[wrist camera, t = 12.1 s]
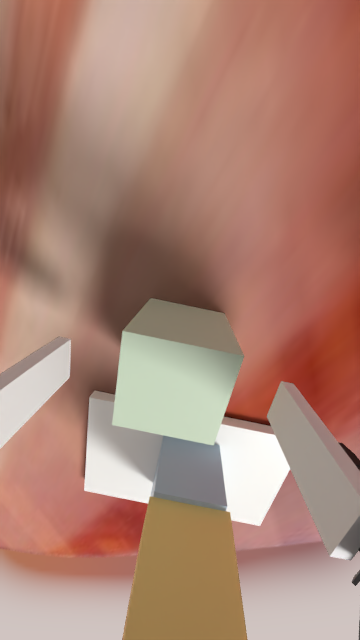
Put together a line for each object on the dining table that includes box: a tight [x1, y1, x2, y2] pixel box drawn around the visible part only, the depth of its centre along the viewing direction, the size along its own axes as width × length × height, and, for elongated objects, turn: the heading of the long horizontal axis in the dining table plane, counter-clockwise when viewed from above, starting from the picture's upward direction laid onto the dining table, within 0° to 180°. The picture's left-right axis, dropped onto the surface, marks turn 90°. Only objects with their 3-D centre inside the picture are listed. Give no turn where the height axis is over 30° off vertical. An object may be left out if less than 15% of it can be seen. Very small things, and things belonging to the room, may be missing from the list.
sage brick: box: [112, 298, 244, 446], centre depth 14 cm, size 6×6×7 cm
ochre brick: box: [122, 496, 247, 640], centre depth 13 cm, size 6×6×7 cm
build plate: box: [84, 390, 290, 526], centre depth 19 cm, size 13×20×6 cm, turn 79°
